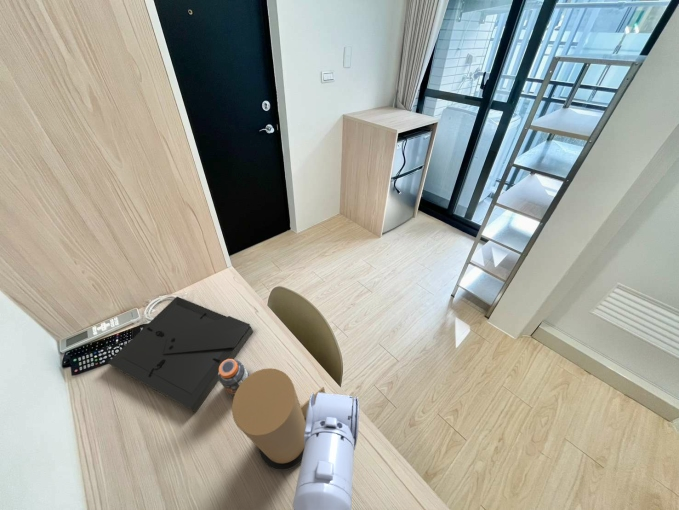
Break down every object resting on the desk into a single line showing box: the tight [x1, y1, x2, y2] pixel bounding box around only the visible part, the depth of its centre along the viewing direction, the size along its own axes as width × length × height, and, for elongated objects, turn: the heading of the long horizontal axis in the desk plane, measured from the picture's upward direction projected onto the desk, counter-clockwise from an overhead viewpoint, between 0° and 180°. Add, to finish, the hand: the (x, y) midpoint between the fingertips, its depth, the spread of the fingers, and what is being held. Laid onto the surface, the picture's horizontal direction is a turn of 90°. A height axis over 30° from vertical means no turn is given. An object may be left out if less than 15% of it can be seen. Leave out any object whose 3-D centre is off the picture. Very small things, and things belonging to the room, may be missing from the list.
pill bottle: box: [218, 359, 250, 398], centre depth 65 cm, size 6×6×11 cm
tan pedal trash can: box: [231, 367, 326, 463], centre depth 53 cm, size 10×16×24 cm, turn 132°
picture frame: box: [107, 296, 254, 413], centre depth 75 cm, size 23×4×28 cm
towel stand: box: [258, 418, 306, 472], centre depth 61 cm, size 12×12×1 cm
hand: (335, 454), depth 50 cm, fingers closed
